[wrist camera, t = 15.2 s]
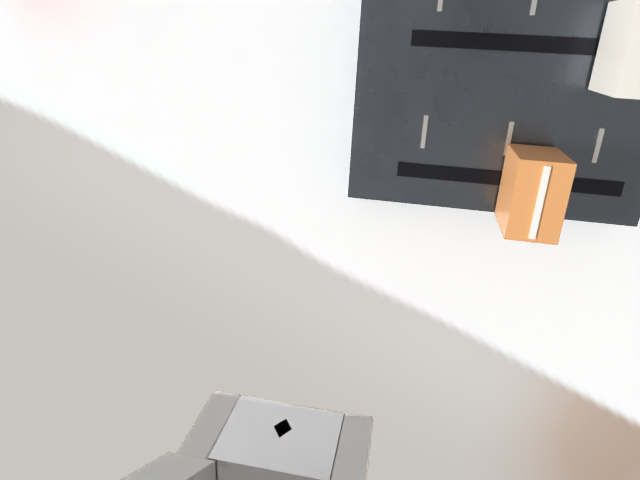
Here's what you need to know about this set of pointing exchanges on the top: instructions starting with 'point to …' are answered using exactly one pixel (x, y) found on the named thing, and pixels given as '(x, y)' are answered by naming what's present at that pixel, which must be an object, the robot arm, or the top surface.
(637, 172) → the console
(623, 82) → the fader
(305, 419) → the robot arm
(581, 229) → the top surface
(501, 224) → the fader
